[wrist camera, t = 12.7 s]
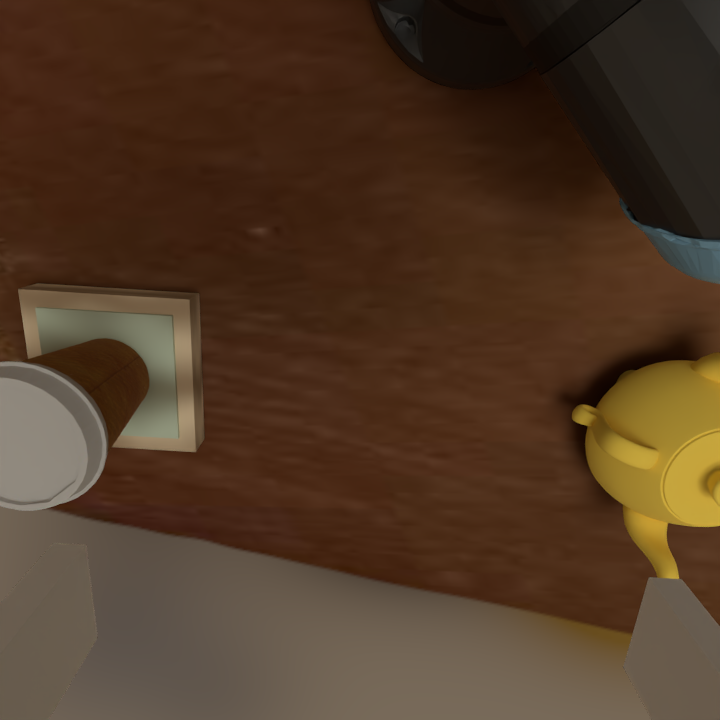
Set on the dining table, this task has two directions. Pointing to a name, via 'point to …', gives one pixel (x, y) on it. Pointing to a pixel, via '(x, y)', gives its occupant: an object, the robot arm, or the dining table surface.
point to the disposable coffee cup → (64, 419)
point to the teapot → (659, 450)
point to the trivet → (144, 335)
